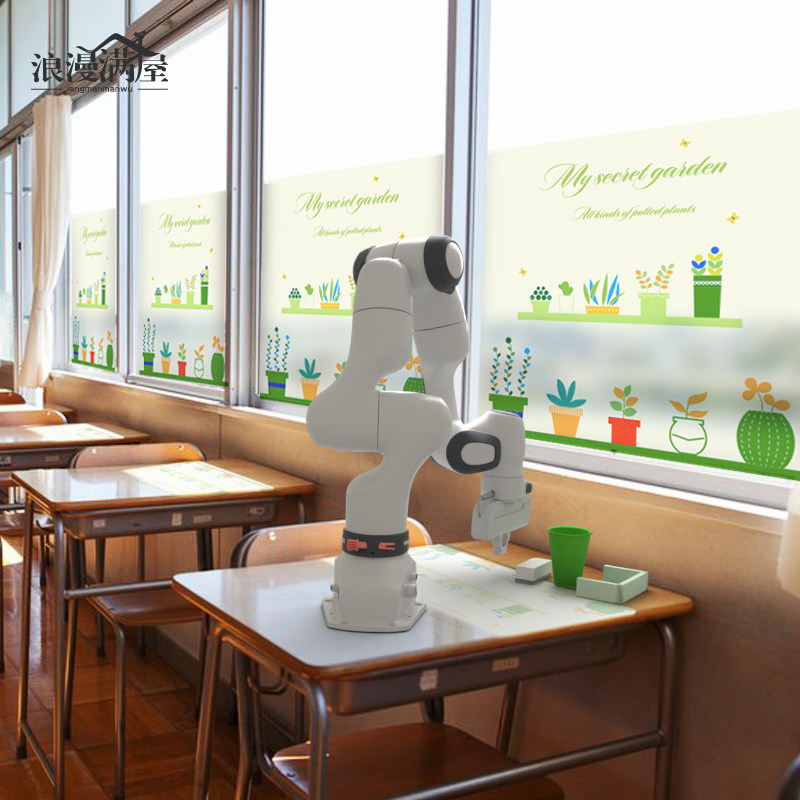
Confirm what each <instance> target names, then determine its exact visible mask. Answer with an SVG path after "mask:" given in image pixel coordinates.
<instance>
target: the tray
mask: <svg viewBox="0 0 800 800" xmlns="http://www.w3.org/2000/svg"><path fill="white" fill-rule="evenodd" d="M648 587H649V571H645V570H640V569H633V568H628V567H627V568H626V567H622V566H621V567H620V566H614V565H609V564H604V565H603V573H602V580H598V579H592V578H586V577H583V576H582V577H578V578H577V587H576V592H575V593H576V594H575V597H578V598H579V597H580V598H583V599H584V598H585V599H590V600H597V601H600V602H601V601H603V602H606V603H607V602H608V603H611V604H617V605H623V604H624V603H626V602H628V601H629V600H631V599H633V598H634V597H636V596H638V595H640V594H642V593H643V592H646V591H647V590H648Z"/></svg>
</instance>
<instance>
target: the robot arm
mask: <svg viewBox="0 0 800 800" xmlns="http://www.w3.org/2000/svg"><path fill="white" fill-rule="evenodd" d="M464 262H465V261H464V257H463V253H462V250H461V248H460V246H459V244H458V243H457V242H456V241H455V240H454V239H453V238H452V237H451V236H449V235H443V234H432V235H430V236H424V237H422V236H421V237H413V238H412V237H411V238H407V239H406V238H401V239H397V240H393V241H392V240H391V241H389V242H385V243H383V244H380V245H372V246H369V247H367V248H365V249H363V250H361V251H360V252H358V254H357V255H356V258H355V259H354V262H353V266H352V277H353V278H352V279H353V282H354V285H355V290H354V297H353V304H352V305H353V306H352V323H351V334H350V335H351V336H350V345H349V351H348V357H347V360H346V362H345V365H344V366H343V369H342V371H341V372H340V374H339V375H338V376H337V378H336V379H335V380H333V382H332V383H331V384H330V385H329V386H328V387H327V388H325V389H324V390H322V391H320V392H319V393H318V394H317V395H315V397H314V398H313V399H312V401H311V402H310V403H309V406H308V408H307V411H306V415H305V416H306V417H305V423H306V424H305V425H306V430H307V432H308V435H309V437H310V438H311V440H312V441H313V443H314V444H315V445H316V446H318V447H322V448H326V449H329V450H333V451H334V450H335V451H338V452H351V453H352V452H357V453H378V454H381V455H382V461H381V463H380V464H379V465H378V466H375V467H374V468H372V469H369V470H367V471H366V472H363V473H361V474H359V475H357V476H356V477H355V478H353V479H352V480H351V481H350V482H349V484H348V485H347V488H346V492H345V522H344V523H345V524H344V525H345V526H344V527H343V529H342V535H341V550H342V552H341V553H340V554H339V555H337V556H336V557H335V558H334V565H333V567H334V568H333V569H334V570H333V571H334V572H333V583H331V585H330V591H331V592H333V595H332V596H325V597H323V598H322V599H321V603H320V604H321V609H322V612H323V615H324V619H325V623H326V626H327V627H328V628H333V629H336V630H344V631H349V632H350V631H352V632H365V633H369V632H370V633H396V632H404V631H409V630H411V628H412V627H413V626H414V625H415V623H417V621H418V620H419V619H420V617H421V616H422V615H423V613H424V612H425V611H426V610H427V602H426V601H422V600H420V599H417V594H418V591H417V589H418V588H417V587H418V586H417V580H418V573H417V562H416V561H415V559H413V558H412V557H411V555H410V554H409V552H408V551H409V550H410V539H411V538H410V531H409V529H408V511H409V501H410V493H411V489H412V484H413V482H414V479H415V478H416V476H417V475H416V474H417V473H418V471H419V470H420V468H421V467H422V466H423V465H424V463H425V462H426V461H427V460H428V459H429V460H430V461H431V463H432V464H434V465H436V466H437V467H440V468H444V469H447V470H450V471H451V472H454V473H456V474H460V475H474V474H479V473H481V474H480V475H481V476H480V478H481V479H480V480H481V481H480V497H479V499H478V500H477V502H475V504H474V506H473V511H472V516H471V517H472V518H471V525H470V526H471V529H470V534H471V537H472V538H473V539H474V540H479V541H484V542H486V541H489V540H490V542H491V544H492V554H493V555H495V556H502V555H503V554H506V553H507V551H508V544H509V541H510V537H511V532H513V531H515V530H518V529H521V528H522V527H526V526H527V525H528V523H529V521H530V515H531V506H532V496H531V494H532V493H533V491H534V484H533V482H530V481H528V480H527V479H525V470H524V460H525V457H526V427H525V422H524V420H523V418H522V417H521V416H520V415H519V414H517V413H514V412H510V411H506V410H502V409H495V408H493V409H488V410H487V411H486V412H485V413H484V414H482V415H481V416H480V417H478V418H477V419H474V420H472V421H471V422H468V423H465V424H464V423H463V421H462V420H461V418H460V417H459V414H458V413H459V412H458V406H457V398H456V392H455V384H454V381H455V380H454V379H455V373H456V371H457V369H458V367H459V366H460V365H461V364H462V363H463V362H464V360H465V359H466V357H467V356H468V353H469V351H470V335H469V334H470V333H469V327H468V321H467V318H466V317H467V316H466V312H465V308H464V304H463V301H462V297H461V294H460V292H459V289H458V285H459V283H460V282H461V281H462V277H463V274H464V270H465V269H464V267H465V264H464ZM413 341H414V345H415V349H416V354H417V358H418V361H419V367H420V370H421V371H420V372H421V376H422V385H423V392H424V393H421V392H417V391H397V390H396V391H395V390H394V391H393V390H379V389H377V388H376V387H377V385H378V384H379V382H380V381H381V380H382V379H384V378H385V377H387V376H389V375H393V374H394V373H397V372H399V371H400V370H402V369H403V368H404V367H407V365H408V364H409V362H410V360H411V358H412V355H413Z"/></svg>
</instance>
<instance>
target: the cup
mask: <svg viewBox="0 0 800 800" xmlns="http://www.w3.org/2000/svg"><path fill="white" fill-rule="evenodd" d="M546 532H548V540H549V549H550V558H551V559H550V560H552V575H553V582H554V585H555V586H557V587H559V588H560V587H561V588H566V589H567V588H569V589H571V588H573V589H574V588H577V578H578V577H582V578H583V573H584V569H585V564H586V560H587V554H588V549H589V546H590V545H589V544H590V539H591V536H592V534H593V530H591V529H590V528H586V527H580V526H574V525H573V526H572V525H553V526H549V527H547V529H546Z"/></svg>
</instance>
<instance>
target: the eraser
mask: <svg viewBox="0 0 800 800" xmlns="http://www.w3.org/2000/svg"><path fill="white" fill-rule="evenodd" d="M552 571H553V568H552V559H547V558H541V557H531V558H529V559H528V560H525V561H523V562H520V563H519V564H516V565H515V576H514V577H515V578H514V579H515V581H514V582H515V583H522V584H526V585H536V584H538V583H540V582H542V581H543V580H546V579H547V578H549V577H552Z"/></svg>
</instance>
